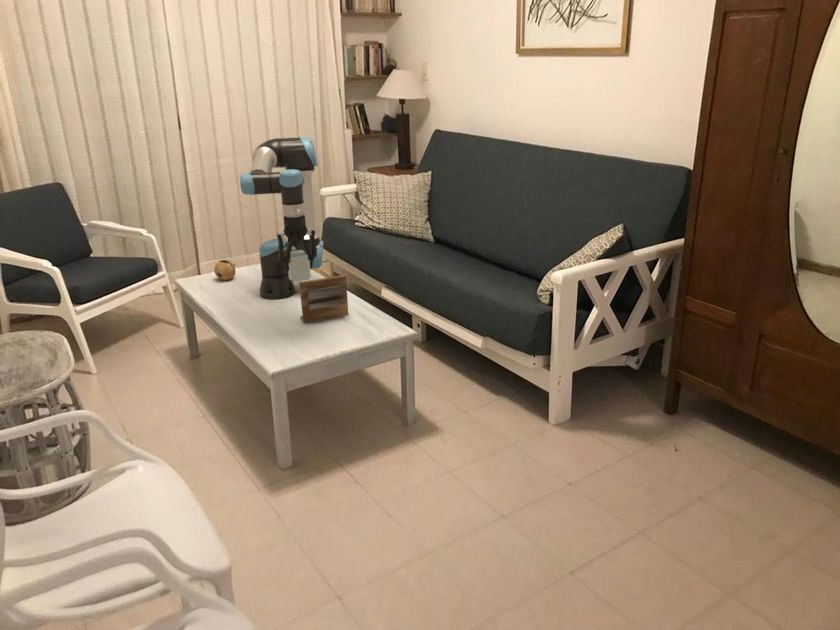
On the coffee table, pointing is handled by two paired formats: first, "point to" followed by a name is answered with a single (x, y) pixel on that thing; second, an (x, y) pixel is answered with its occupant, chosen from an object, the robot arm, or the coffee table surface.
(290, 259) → the grey-green box
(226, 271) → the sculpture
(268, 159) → the robot arm
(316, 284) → the brown wooden rack
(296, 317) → the coffee table surface
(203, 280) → the coffee table surface
